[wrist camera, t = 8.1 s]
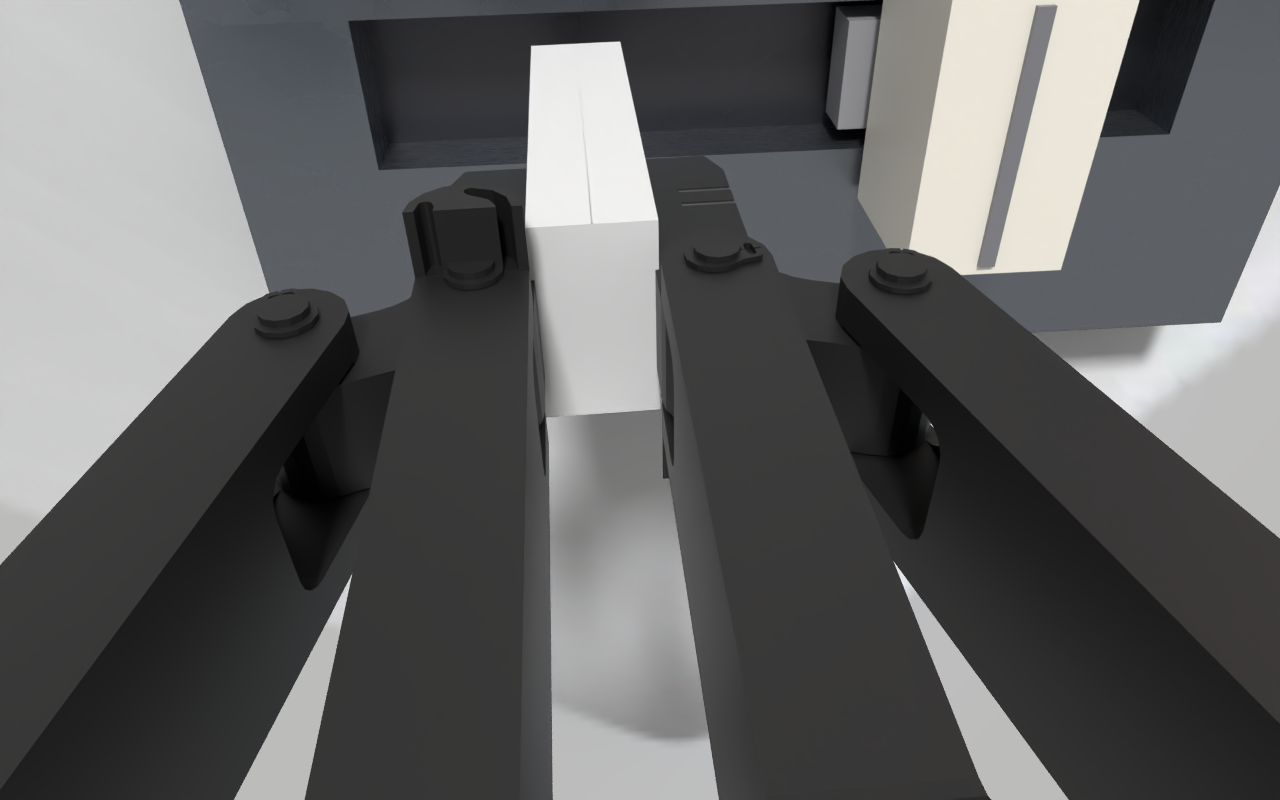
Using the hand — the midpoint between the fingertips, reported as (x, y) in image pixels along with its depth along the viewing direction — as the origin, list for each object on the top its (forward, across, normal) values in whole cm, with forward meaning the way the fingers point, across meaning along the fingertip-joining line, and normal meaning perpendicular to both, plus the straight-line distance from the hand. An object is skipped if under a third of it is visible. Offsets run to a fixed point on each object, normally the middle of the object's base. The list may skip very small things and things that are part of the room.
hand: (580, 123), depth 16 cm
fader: (+4, +7, 0) cm, 8 cm away
